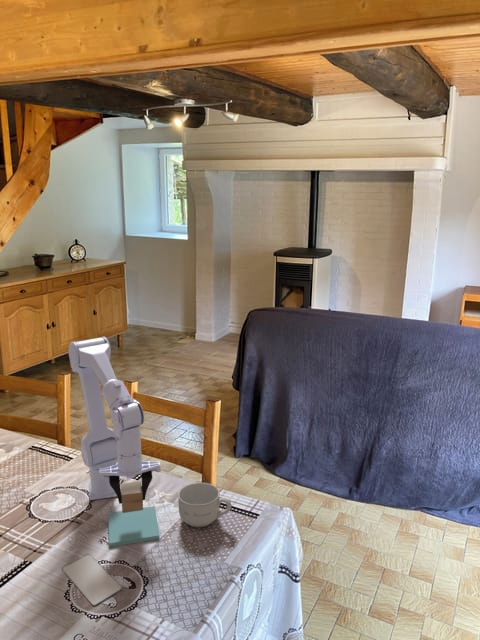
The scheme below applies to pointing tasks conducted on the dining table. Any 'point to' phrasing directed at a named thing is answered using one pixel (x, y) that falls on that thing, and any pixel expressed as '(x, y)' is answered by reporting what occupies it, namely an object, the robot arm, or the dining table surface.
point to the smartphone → (92, 580)
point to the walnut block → (131, 497)
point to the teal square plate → (133, 526)
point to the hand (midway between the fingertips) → (131, 499)
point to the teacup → (201, 504)
